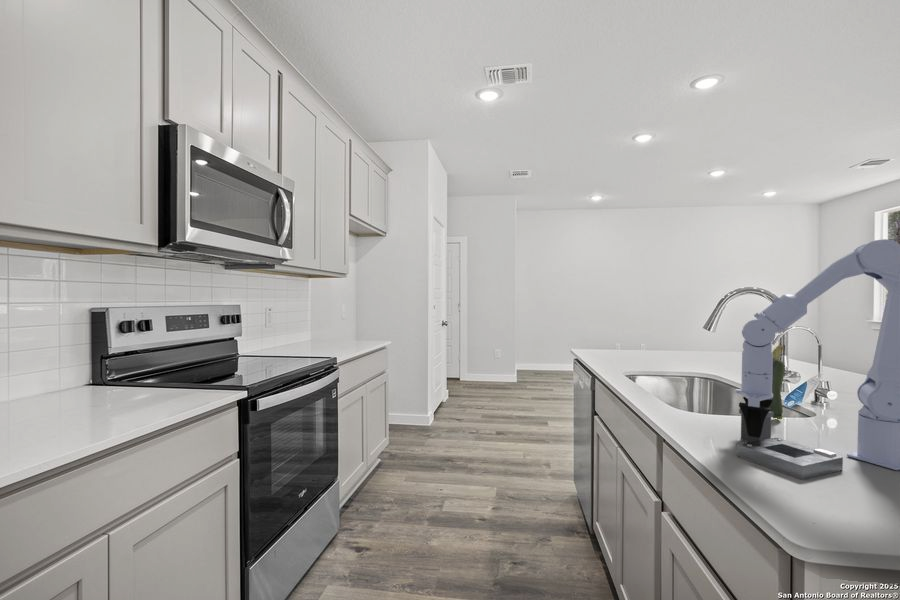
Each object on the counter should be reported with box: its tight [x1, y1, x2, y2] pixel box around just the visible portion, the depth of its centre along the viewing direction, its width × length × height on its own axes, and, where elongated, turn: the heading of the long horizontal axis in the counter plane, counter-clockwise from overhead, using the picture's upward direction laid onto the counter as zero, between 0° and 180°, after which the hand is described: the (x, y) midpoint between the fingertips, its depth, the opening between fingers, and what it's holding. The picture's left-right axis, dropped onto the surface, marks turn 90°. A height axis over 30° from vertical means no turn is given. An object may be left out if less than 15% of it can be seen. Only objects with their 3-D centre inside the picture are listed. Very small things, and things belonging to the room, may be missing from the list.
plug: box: [738, 408, 774, 443], centre depth 100 cm, size 5×5×7 cm
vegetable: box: [769, 344, 786, 420], centre depth 117 cm, size 4×4×20 cm
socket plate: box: [736, 437, 844, 481], centre depth 87 cm, size 12×12×3 cm
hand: (755, 432), depth 100 cm, fingers open, 7 cm apart
